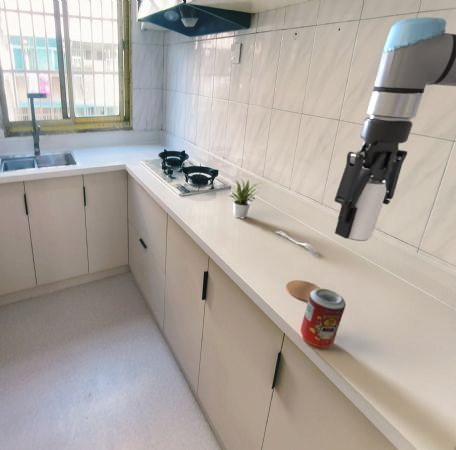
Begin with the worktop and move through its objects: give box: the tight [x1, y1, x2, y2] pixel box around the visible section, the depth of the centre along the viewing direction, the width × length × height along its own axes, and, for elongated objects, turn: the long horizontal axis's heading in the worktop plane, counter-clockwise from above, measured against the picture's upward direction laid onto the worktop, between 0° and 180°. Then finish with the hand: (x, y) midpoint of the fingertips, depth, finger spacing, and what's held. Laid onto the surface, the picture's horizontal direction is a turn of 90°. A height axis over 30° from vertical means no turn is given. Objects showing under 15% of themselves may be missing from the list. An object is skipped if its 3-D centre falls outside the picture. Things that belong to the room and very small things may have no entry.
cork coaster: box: [285, 279, 322, 303], centre depth 95 cm, size 10×10×1 cm
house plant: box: [227, 178, 262, 218], centre depth 141 cm, size 14×14×16 cm
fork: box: [275, 230, 320, 258], centre depth 122 cm, size 3×21×3 cm, turn 20°
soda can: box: [300, 288, 347, 350], centre depth 74 cm, size 7×7×12 cm
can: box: [347, 176, 387, 242], centre depth 68 cm, size 6×6×12 cm
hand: (353, 233), depth 70 cm, fingers closed on can, 6 cm apart
